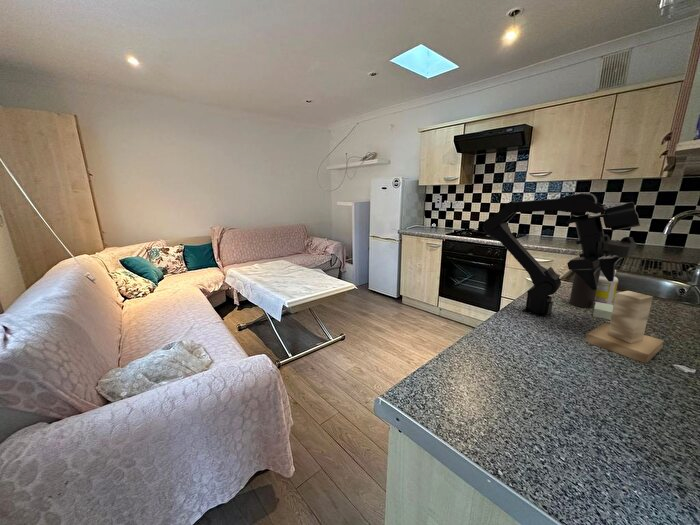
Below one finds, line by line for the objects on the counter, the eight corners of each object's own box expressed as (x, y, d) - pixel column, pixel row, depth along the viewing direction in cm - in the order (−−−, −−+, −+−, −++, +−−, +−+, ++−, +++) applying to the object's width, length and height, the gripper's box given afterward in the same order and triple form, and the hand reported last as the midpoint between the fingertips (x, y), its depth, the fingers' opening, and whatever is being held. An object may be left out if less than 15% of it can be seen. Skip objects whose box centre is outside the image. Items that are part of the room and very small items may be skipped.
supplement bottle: (603, 299, 104) (610, 267, 101) (618, 306, 98) (626, 272, 95) (584, 299, 105) (590, 266, 102) (597, 306, 99) (605, 271, 95)
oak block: (584, 343, 76) (586, 333, 75) (602, 332, 82) (604, 322, 81) (645, 365, 66) (648, 354, 65) (661, 350, 72) (663, 340, 71)
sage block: (592, 317, 91) (594, 308, 90) (594, 309, 97) (595, 301, 96) (626, 324, 86) (628, 315, 85) (625, 316, 91) (627, 307, 90)
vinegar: (574, 307, 98) (584, 252, 93) (565, 300, 104) (575, 248, 99) (597, 309, 96) (609, 253, 91) (587, 301, 102) (598, 249, 97)
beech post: (607, 334, 75) (616, 293, 72) (619, 331, 76) (627, 290, 74) (630, 343, 70) (640, 299, 67) (642, 339, 72) (652, 296, 69)
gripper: (608, 236, 70) (622, 295, 70) (642, 223, 77) (655, 276, 77) (560, 242, 80) (573, 294, 80) (595, 230, 87) (606, 277, 88)
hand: (602, 285), depth 81 cm, fingers open, 9 cm apart
